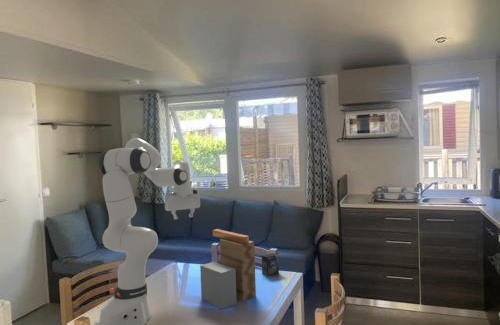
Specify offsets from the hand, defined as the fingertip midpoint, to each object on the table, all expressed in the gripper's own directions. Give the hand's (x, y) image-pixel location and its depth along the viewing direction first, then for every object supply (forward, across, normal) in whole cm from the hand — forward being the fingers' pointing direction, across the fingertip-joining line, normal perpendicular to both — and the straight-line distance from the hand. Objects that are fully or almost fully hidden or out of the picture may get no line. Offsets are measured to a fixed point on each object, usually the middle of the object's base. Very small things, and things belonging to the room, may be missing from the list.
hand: (183, 218), depth 205 cm
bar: (+10, +8, -28) cm, 31 cm away
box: (+34, +41, -21) cm, 58 cm away
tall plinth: (+36, +9, -31) cm, 48 cm away
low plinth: (+37, -3, -30) cm, 48 cm away
